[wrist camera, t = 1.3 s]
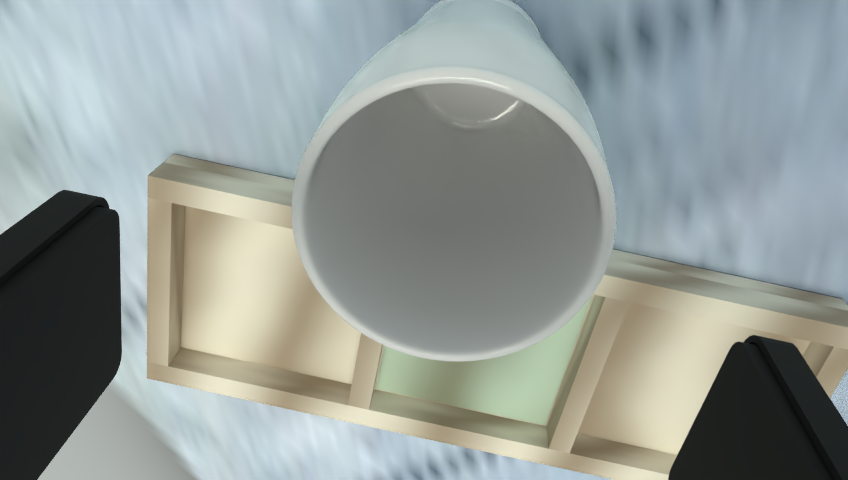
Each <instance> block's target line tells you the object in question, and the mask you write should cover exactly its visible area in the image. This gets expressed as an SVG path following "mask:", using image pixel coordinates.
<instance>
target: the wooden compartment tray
mask: <svg viewBox="0 0 848 480" xmlns="http://www.w3.org/2000/svg"><path fill="white" fill-rule="evenodd" d="M294 181H295V180H291V179H287V178H282V177H278V176H273V175H268V174H264V173H259V172H255V171H250V170H245V169H241V168H236V167H232V166H227V165H222V164H218V163H213V162H208V161H204V160H199V159H195V158H190V157H185V156H181V155H176V154H173V155H172V156H170V157H169V158H168V159H167V160H166V161H164V162H163V163H162V164H161V165H160V166H159V167H157V168H156V169H155V170H154V171H153V172H151V173H150V174H149V175H148V257H147V378H148V379H153V380H157V381H162V382H166V383H171V384H176V385H180V386H185V387H190V388H194V389H199V390H203V391H208V392H213V393H217V394H222V395H226V396H231V397H236V398H240V399H245V400H249V401H254V402H259V403H263V404H268V405H273V406H277V407H282V408H286V409H291V410H296V411H300V412H305V413H309V414H314V415H319V416H323V417H328V418H332V419H337V420H342V421H346V422H351V423H356V424H360V425H365V426H369V427H374V428H379V429H383V430H388V431H392V432H397V433H402V434H406V435H411V436H416V437H420V438H425V439H429V440H434V441H439V442H443V443H448V444H452V445H457V446H462V447H466V448H471V449H475V450H480V451H485V452H489V453H494V454H499V455H503V456H508V457H512V458H517V459H522V460H526V461H531V462H535V463H540V464H545V465H549V466H554V467H559V468H563V469H568V470H572V471H577V472H582V473H586V474H591V475H595V476H600V477H605V478H609V479H614V480H668V477H669V473H670V470H671V467H672V465H673V463H674V461H675V459H676V457H677V455H678V453H679V451H680V449H681V447H682V445H683V443H684V441H685V439H686V437H687V435H688V433H689V430H690V428H691V426H692V424H693V422H694V420H695V418H696V416H697V414H698V412H699V410H700V408H701V406H702V404H703V402H704V400H705V398H706V396H707V394H708V392H709V390H710V388H711V386H712V384H713V382H714V380H715V378H716V376H717V374H718V372H719V370H720V368H721V366H722V364H723V362H724V360H725V358H726V356H727V354H728V352H729V350H730V348H731V347H732V345H733V344H734V343H735V342H744V341H745V340H746V339H747V338H748V337H749V336H752V335H757V336H762V337H766V338H771V339H776V340H781V341H785V342H790V343H793V344H794V345H795V346H796V347H797V348H798V350H799V351H800V353H801V354H802V356H803V358H804V359H805V361H806V362H807V364H808V365H809V367H810V368H811V370H812V372H813V373H814V375H815V376H816V378H817V379H818V381H819V382H820V384H821V386H822V387H823V389H824V390H825V392H826V393H827V395H828V396H829V398H830V397H831V396H832V394H833V392H834V391H835V389H836V387H837V386H838V384H839V382H840V381H841V379H842V377H843V376H844V374H845V372H846V371H847V369H848V305H847V303H846V302H845V301H844V300H843V299H840V298H835V297H830V296H826V295H821V294H817V293H812V292H807V291H803V290H798V289H794V288H789V287H784V286H780V285H775V284H771V283H766V282H761V281H757V280H752V279H748V278H743V277H738V276H734V275H729V274H724V273H720V272H715V271H711V270H706V269H701V268H697V267H692V266H688V265H683V264H678V263H674V262H669V261H665V260H660V259H655V258H651V257H646V256H642V255H637V254H632V253H628V252H623V251H619V250H614V249H613V251H612V254H611V257H610V260H609V264H608V267H607V269H606V271H605V273H604V275H603V278H602V280H601V282H600V283H599V285H598V287H597V288H596V290H595V292H594V293H593V295H592V296H591V297H590V299H589V300H588V302H587V303H586V304H585V305H584V306H583V307H582V309H581V310H580V311H579V312H578V313H577V314H576V315H575V316H574V317H573V318H572V319H571V320H570V321H569V322H568V323H566V324H565V325H564V326H563V327H561V328H560V329H559V330H557V331H556V332H555V333H553V334H552V335H550V336H548V337H547V338H545V339H544V340H542V341H540V342H538V343H536V344H534V345H532V346H530V347H527V348H525V349H522V350H520V351H517V352H515V353H511V354H508V355H505V356H501V357H496V358H492V359H486V360H478V361H465V362H453V361H439V360H431V359H425V358H420V357H416V356H412V355H408V354H405V353H402V352H399V351H396V350H393V349H391V348H389V347H386V346H384V345H382V344H380V343H378V342H376V341H374V340H372V339H370V338H369V337H367V336H365V335H364V334H362V333H361V332H359V331H358V330H356V329H355V328H353V327H352V326H351V325H349V324H348V323H347V322H346V321H344V320H343V319H342V318H341V317H340V316H339V315H338V314H337V313H336V312H335V311H334V310H333V309H332V308H331V307H330V306H329V305H328V304H327V303H326V301H325V300H324V299H323V298H322V296H321V295H320V294H319V292H318V291H317V290H316V288H315V287H314V285H313V283H312V282H311V280H310V278H309V277H308V275H307V273H306V271H305V268H304V266H303V264H302V262H301V259H300V256H299V254H298V251H297V247H296V243H295V239H294V234H293V227H292V216H291V204H292V192H293V186H294Z"/></svg>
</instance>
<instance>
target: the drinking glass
mask: <svg viewBox="0 0 848 480" xmlns="http://www.w3.org/2000/svg"><path fill="white" fill-rule="evenodd" d="M291 216H292V227H293V234H294V239H295V243H296V247H297V251H298V254H299V256H300V259H301V262H302V264H303V266H304V268H305V271H306V273H307V275H308V277H309V278H310V280H311V282H312V283H313V285H314V287H315V288H316V290H317V291H318V292H319V294H320V295H321V296H322V298H323V299H324V300H325V301H326V303H327V304H328V305H329V306H330V307H331V308H332V309H333V310H334V311H335V312H336V313H337V314H338V315H339V316H340V317H341V318H342V319H343V320H344V321H346V322H347V323H348V324H349V325H351V326H352V327H353V328H355V329H356V330H358V331H359V332H361V333H362V334H364V335H365V336H367V337H369V338H370V339H372V340H374V341H376V342H378V343H380V344H382V345H384V346H386V347H389V348H391V349H393V350H396V351H399V352H402V353H405V354H408V355H412V356H416V357H420V358H425V359H431V360H439V361H453V362H465V361H478V360H486V359H492V358H496V357H501V356H505V355H508V354H511V353H515V352H517V351H520V350H522V349H525V348H527V347H530V346H532V345H534V344H536V343H538V342H540V341H542V340H544V339H545V338H547V337H548V336H550V335H552V334H553V333H555V332H556V331H557V330H559V329H560V328H561V327H563V326H564V325H565V324H566V323H568V322H569V321H570V320H571V319H572V318H573V317H574V316H575V315H576V314H577V313H578V312H579V311H580V310H581V309H582V307H583V306H584V305H585V304H586V303H587V302H588V300H589V299H590V297H591V296H592V295H593V293H594V292H595V290H596V288H597V287H598V285H599V283H600V282H601V280H602V278H603V275H604V273H605V271H606V269H607V267H608V264H609V260H610V257H611V254H612V251H613V246H614V241H615V234H616V223H617V222H616V202H615V194H614V189H613V185H612V181H611V177H610V172H609V168H608V164H607V160H606V156H605V152H604V148H603V144H602V141H601V138H600V135H599V132H598V129H597V127H596V124H595V121H594V118H593V116H592V114H591V111H590V109H589V107H588V105H587V103H586V101H585V99H584V97H583V95H582V93H581V91H580V90H579V88H578V86H577V85H576V83H575V82H574V80H573V79H572V77H571V75H570V74H569V73H568V71H567V70H566V69H565V67H564V66H563V65H562V63H561V62H560V61H559V60H558V58H557V57H556V56H555V55H554V53H553V52H552V51H551V50H550V49H549V47H548V46H547V45H546V43H545V42H544V41H543V39H542V38H541V35H540V33H539V31H538V29H537V27H536V25H535V23H534V22H533V20H532V19H531V18H530V17H529V15H528V14H527V13H526V12H525V11H524V10H523V9H522V8H521V7H519V6H518V5H517V4H515V3H514V2H512V1H511V0H441V1H440V2H438V3H436V4H435V5H434V6H432V7H431V8H430V9H429V10H428V11H427V12H426V13H425V14H424V15H423V16H422V17H421V18H420V20H419V21H418V22H417V23H416V24H414V25H413V26H411V27H410V28H409V29H407V30H406V31H404V32H403V33H401V34H400V35H399V36H397V37H396V38H394V39H393V40H392V41H390V42H389V43H388V44H386V45H385V46H384V47H382V48H381V49H380V50H379V51H378V52H376V53H375V54H374V55H373V56H372V57H371V58H370V59H369V60H368V61H367V62H366V63H364V65H363V66H362V67H361V68H360V69H359V70H358V71H357V72H356V73H355V74H354V76H353V77H352V78H351V79H350V80H349V81H348V83H347V84H346V85H345V86H344V88H343V89H342V91H341V92H340V93H339V95H338V96H337V98H336V99H335V100H334V102H333V103H332V105H331V106H330V108H329V109H328V111H327V113H326V114H325V116H324V118H323V120H322V121H321V123H320V125H319V127H318V128H317V130H316V132H315V134H314V136H313V137H312V139H311V141H310V143H309V144H308V146H307V148H306V150H305V152H304V154H303V157H302V159H301V161H300V164H299V167H298V170H297V173H296V177H295V181H294V186H293V192H292V204H291Z"/></svg>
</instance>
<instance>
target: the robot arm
mask: <svg viewBox="0 0 848 480" xmlns="http://www.w3.org/2000/svg"><path fill="white" fill-rule="evenodd" d="M121 354H122V344H121V286H120V228H119V216H118V213H117V212H116V211H115V210H112V209H109V205H108V203H107V201H106V200H105V199H104V198H102V197H97V196H92V195H87V194H83V193H78V192H73V191H68V190H62V191H60V192H58V193H57V194H56V195H54V196H53V197H51V198H50V199H49V200H47V201H46V202H45V203H43V204H42V205H40V206H39V207H38V208H36V209H35V210H34V211H32V212H31V213H30V214H28V215H27V216H25V217H24V218H23V219H21V220H20V221H19V222H17V223H16V224H14V225H13V226H12V227H10V228H9V229H8V230H6V231H5V232H4V233H2V234H1V235H0V480H37V479H38V478H39V476H40V475H41V474H42V472H43V471H44V470H45V469H46V467H47V466H48V465H49V463H50V462H51V460H52V459H53V458H54V457H55V455H56V454H57V453H58V451H59V450H60V449H61V447H62V446H63V445H64V443H65V442H66V441H67V439H68V438H69V437H70V435H71V434H72V433H73V431H74V430H75V429H76V427H77V426H78V424H79V423H80V422H81V421H82V419H83V418H84V417H85V415H86V414H87V413H88V411H89V410H90V409H91V407H92V406H93V405H94V403H95V402H96V401H97V399H98V398H99V397H100V395H101V394H102V393H103V392H104V390H105V389H106V388H107V386H108V385H109V384H110V382H111V381H112V380H113V378H114V376H115V375H116V373H117V371H118V368H119V365H120V361H121ZM668 480H848V426H847V424H846V423H845V421H844V420H843V418H842V417H841V415H840V414H839V412H838V410H837V409H836V407H835V406H834V404H833V403H832V401H831V400H830V398H829V396H828V395H827V393H826V392H825V390H824V389H823V387H822V386H821V384H820V382H819V381H818V379H817V378H816V376H815V375H814V373H813V372H812V370H811V368H810V367H809V365H808V364H807V362H806V361H805V359H804V358H803V356H802V354H801V353H800V351H799V350H798V348H797V347H796V346H795V345H794V344H793V343H790V342H785V341H781V340H776V339H771V338H766V337H762V336H757V335H752V336H749V337H748V338H747V339H746V340H745V341H744V342H735V343H734V344H733V345H732V347H731V348H730V350H729V352H728V354H727V356H726V358H725V360H724V362H723V364H722V366H721V368H720V370H719V372H718V374H717V376H716V378H715V380H714V382H713V384H712V386H711V388H710V390H709V392H708V394H707V396H706V398H705V400H704V402H703V404H702V406H701V408H700V410H699V412H698V414H697V416H696V418H695V420H694V422H693V424H692V426H691V428H690V430H689V433H688V435H687V437H686V439H685V441H684V443H683V445H682V447H681V449H680V451H679V453H678V455H677V457H676V459H675V461H674V463H673V465H672V467H671V470H670V473H669V477H668Z"/></svg>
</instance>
